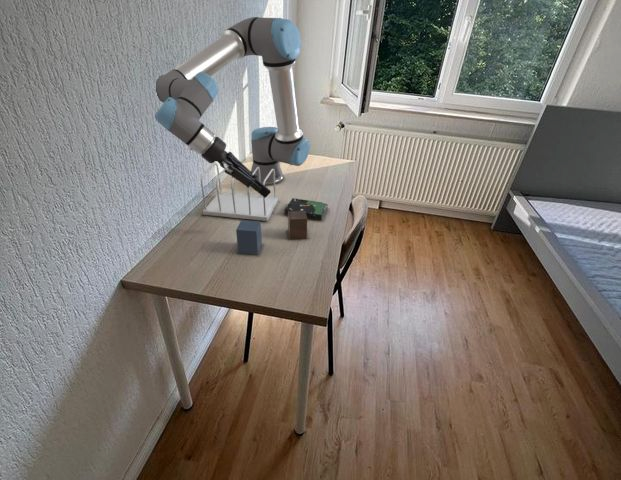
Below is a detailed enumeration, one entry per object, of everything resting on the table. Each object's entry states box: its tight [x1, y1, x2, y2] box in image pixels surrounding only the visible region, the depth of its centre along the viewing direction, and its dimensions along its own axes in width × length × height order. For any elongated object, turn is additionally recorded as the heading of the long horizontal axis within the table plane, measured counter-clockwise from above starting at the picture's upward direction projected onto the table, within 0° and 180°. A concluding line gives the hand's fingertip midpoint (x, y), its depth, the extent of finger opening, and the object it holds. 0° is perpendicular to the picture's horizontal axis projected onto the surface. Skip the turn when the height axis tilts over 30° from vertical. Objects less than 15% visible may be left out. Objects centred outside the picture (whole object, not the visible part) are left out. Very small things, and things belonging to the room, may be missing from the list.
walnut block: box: [287, 211, 308, 241], centre depth 120 cm, size 6×6×8 cm
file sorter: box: [200, 162, 279, 222], centre depth 133 cm, size 25×17×16 cm
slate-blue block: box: [235, 219, 263, 256], centre depth 112 cm, size 6×6×9 cm
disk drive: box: [284, 197, 329, 221], centre depth 136 cm, size 10×3×15 cm
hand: (267, 194), depth 113 cm, fingers closed
